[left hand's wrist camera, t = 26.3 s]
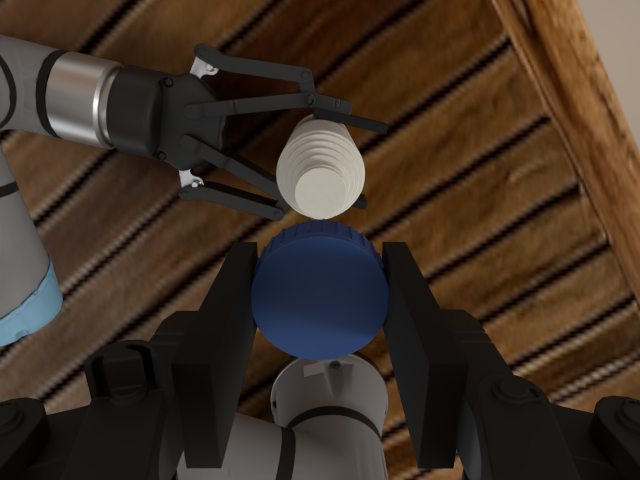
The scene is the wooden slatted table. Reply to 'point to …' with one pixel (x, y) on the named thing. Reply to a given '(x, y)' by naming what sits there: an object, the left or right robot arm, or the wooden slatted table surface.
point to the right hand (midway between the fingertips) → (374, 165)
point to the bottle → (320, 169)
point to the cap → (319, 290)
